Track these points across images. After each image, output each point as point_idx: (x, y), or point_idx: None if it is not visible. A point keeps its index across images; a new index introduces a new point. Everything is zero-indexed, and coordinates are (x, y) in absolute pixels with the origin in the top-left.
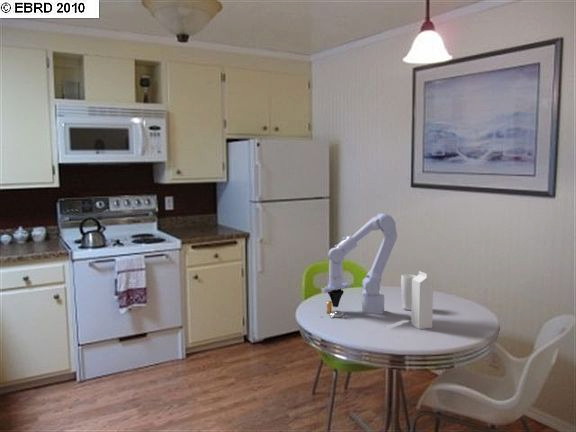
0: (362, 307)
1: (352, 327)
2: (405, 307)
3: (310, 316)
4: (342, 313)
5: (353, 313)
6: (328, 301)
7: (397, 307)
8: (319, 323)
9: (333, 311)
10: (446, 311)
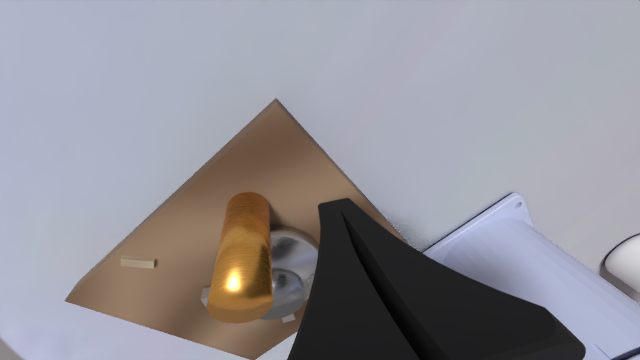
0: (478, 270)
1: (266, 352)
2: (616, 268)
3: (58, 122)
4: (305, 294)
5: (425, 212)
6: (241, 290)
7: (632, 221)
8: None
9: (274, 244)
10: None
